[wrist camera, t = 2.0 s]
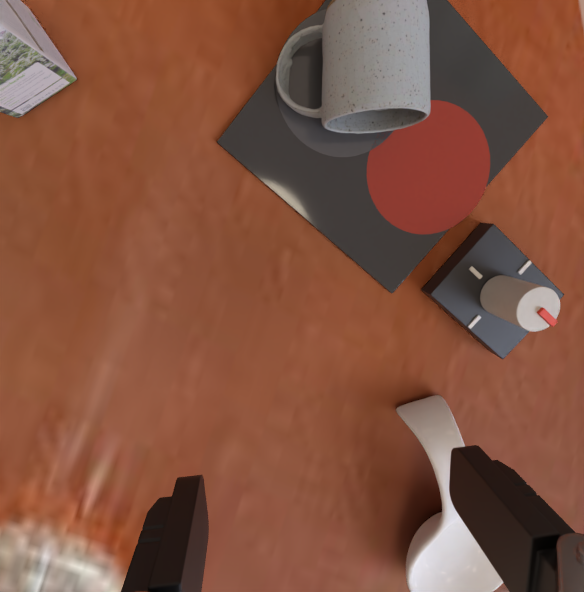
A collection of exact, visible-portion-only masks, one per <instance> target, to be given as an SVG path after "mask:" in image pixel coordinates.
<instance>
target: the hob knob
mask: <svg viewBox="0 0 584 592" xmlns="http://www.w3.org/2000/svg"><path fill="white" fill-rule="evenodd" d="M480 301H481V305H482V307H483V308H484V309H485V310H486V311H487V312H489V313H491V314H493V315H495V316H497V317H499V318H502V319H504V320H506V321H508V322H510V323H512V324H515V325H517V326H519V327H521V328H523V329H525V330H528V331H541V330H544V329H546V328H547V327H549V326H552V327H553V326H554V325H555V324H556V323H557V322H558V321H557V320H556V318H557V316H558V314H559V311H560V300H559V297H558V295H557V294H556V292H555V291H553V290H552V289H550V288H548V287H544V286H541V285H537V284H534V283H530V282H527V281H523V280H520V279H516V278H513V277H509V276H505V275H499V276H495V277H493V278H491V279H490V280H488V281H487V282H486V283H485V285H484V286H483V288H482V290H481V294H480Z"/></svg>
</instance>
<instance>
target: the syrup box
mask: <svg viewBox="0 0 584 592" xmlns="http://www.w3.org/2000/svg"><path fill="white" fill-rule="evenodd" d="M76 79H77V78H76V76H75V75H74V73H73V72H72V70H71V69H70V67H69V66H68V64H67V63H66V62H65V60H64V59H63V57H62V56H61V54H60V53H59V51H58V50H57V48H56V47H55V46H54V44H53V43H52V41H51V40H50V38H49V37H48V35H47V34H46V32H45V31H44V29H43V28H42V26H41V25H40V24H39V22H38V21H37V19H36V18H35V16H34V15H33V13H32V12H31V10H30V9H29V8H28V7H27V6H26V5H25V4H24V3H23V2H22V1H20V0H0V112H2V113H5V114H7V115H10V116H13V117H16V118H19V117H21V116H23V115H24V114H26V113H27V112H29V111H30V110H32V109H33V108H35V107H36V106H38V105H39V104H41V103H42V102H44V101H45V100H47V99H48V98H50V97H51V96H53V95H54V94H56V93H57V92H59V91H61V90H62V89H64V88H65V87H67V86H68V85H70V84H71V83H73V82H74V81H76Z"/></svg>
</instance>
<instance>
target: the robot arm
mask: <svg viewBox="0 0 584 592" xmlns="http://www.w3.org/2000/svg"><path fill="white" fill-rule="evenodd" d="M449 493H450V498H451V501H452V504H453V506H454V508H455V510H456V512H457V513H458V515H459V516H460V518H461V519H462V521H463V522H464V524H465V525H466V527H467V528H468V530H469V531H470V533H471V534H472V536H473V537H474V539H475V540H476V542H477V543H478V545H479V546H480V548H481V549H482V551H483V552H484V554H485V555H486V557H487V558H488V560H489V561H490V563H491V564H492V566H493V567H494V569H495V570H496V572H497V573H498V575H499V576H500V578H501V579H502V581H503V582H504V584H505V585H506V587H507V588H508V590H509V591H510V592H584V534H579V533H575V532H574V531H573V530H572V529H571V528H570V527H569V526H568V525H567V524H566V523H565V521H564V520H563V519H562V518H561V517H560V516H559V515H558V514H557V513H556V512H555V511H554V510H553V509H552V508H551V507H550V506H549V505H548V504H547V503H546V502H545V501H544V500H543V499H542V498H541V497H540V496H539V495H538V496H537V494H536V492H535V491H534V490H533V489H532V488H531V487H530V486H529V485H527V484H526V482H525V481H524V480H523V479H522V478H521V477H520V476H519V475H518V474H517V473H516V472H515V471H514V470H513V469H511V468H510V467H508V466H506V465H505V464H503V463H501V462H500V461H498V460H493V461H492V460H491V459H490V458H489V457H488V456H487V454H486V453H485V452H484V451H483V450H482V449H481V448H480V447H479V446H476V445H474V446H465V447H456V448H453V449H452V451H451V461H450V480H449ZM208 529H209V526H208V512H207V503H206V495H205V487H204V479H203V476H202V475H196V476H187V477H179V478H177V480H176V484H175V488H174V491H173V495H172V497H163V498H159V499H158V500H157V501H156V503H155V504H154V505H153V506H152V508H151V509H150V510H149V511H148V513H147V516H146V519H145V522H144V525H143V530H142V531H141V534H140V537H139V540H138V544H137V546H136V549H135V552H134V555H133V558H132V561H131V564H130V566H129V569H128V572H127V575H126V578H125V581H124V584H123V587H122V590H121V592H201V589H202V582H203V574H204V566H205V559H206V551H207V543H208Z"/></svg>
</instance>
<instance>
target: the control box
mask: <svg viewBox="0 0 584 592" xmlns="http://www.w3.org/2000/svg"><path fill="white" fill-rule="evenodd" d="M499 275H505V276H509V277H513V278H516V279H520V280H523V281H527V282H530V283H534V284H537V285H541V286H544V287H548V288H550V289H552V290H553V291H555V292H556V294H557V295H558V297H559V300H560V299H561V298H562V297H563V295H564V294H563V293H562V292H561V291H560V290H559V289H558V288H557V287H556V286H555V285H554V284H553V283H552V282H551V281H550V280H549V279H548V278H547V277H546V276H545V275H544V274H543V273H542V272H541V271H540V270H539V269H538V268H537V267H536V266H535V265H534V264H533V263H532V262H531V261H530V260H529V259H528V258H527V257H526V256H525V255H524V254H523V253H522V252H521V251H520V250H519V249H518V248H517V247H516V246H515V245H514V244H513V243H512V242H511V241H510V240H509V239H508V238H507V237H506V236H505V235H504V234H503V233H502V232H501V231H500V230H499V229H498V228H497V227H496V226H495V225H494V224H487V223H480V224H479V225H478V226H477V228H476V229H475V230H474V231H473V232H472V233H471V234H470V235H469V237H468V238H467V239H466V240H465V241H464V242H463V243H462V244H461V246H460V247H459V248H458V249H457V250H456V251H455V252H454V253H453V255H452V256H451V257H450V258H449V259H448V260H447V261H446V262H445V264H444V265H443V266H442V267H441V268H440V269H439V270H438V271H437V272H436V274H435V275H434V276H433V277H432V278H431V279H430V280H429V281H428V283H427V284H426V285H425V286H424V287H423V288H422V289H421V290H422V291H423V292H424V293H425V294H426V295H427V296H428V297H429V298H431V299H432V300H433V301H434V302H435V303H436V304H437V305H438V306H440V307H441V308H442V309H443V310H444V311H445V312H446V313H447V314H449V315H450V316H451V317H452V318H453V319H454V320H455V321H456V322H458V323H459V324H460V325H461V326H462V327H463V328H464V329H466V330H467V331H468V332H469V333H470V334H471V335H472V336H473V337H475V338H476V339H477V340H478V341H479V342H480V343H481V344H482V345H484V346H485V347H486V348H487V349H488V350H489V351H490V352H492V353H493V354H495V355H497V356H498V357H500V358H501V359H504V358H505V357H506V356H507V355H508V353H509V352H510V351H511V350H512V349H513V348H514V347H515V346H516V345H517V344H518V343H519V342H520V341H521V340H522V339H523V338H524V337H525V336H526V334H527V333H528V332H529V331H528V330H525V329H523V328H521V327H519V326H517V325H515V324H512V323H510V322H508V321H506V320H504V319H502V318H499V317H497V316H495V315H493V314H491V313H489V312H487V311H486V310H485V309H484V308H483V307H482V305H481V301H480V294H481V290H482V288H483V286H484V285H485V283H486V282H487V281H488V280H490V279H491V278H493V277H495V276H499Z"/></svg>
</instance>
